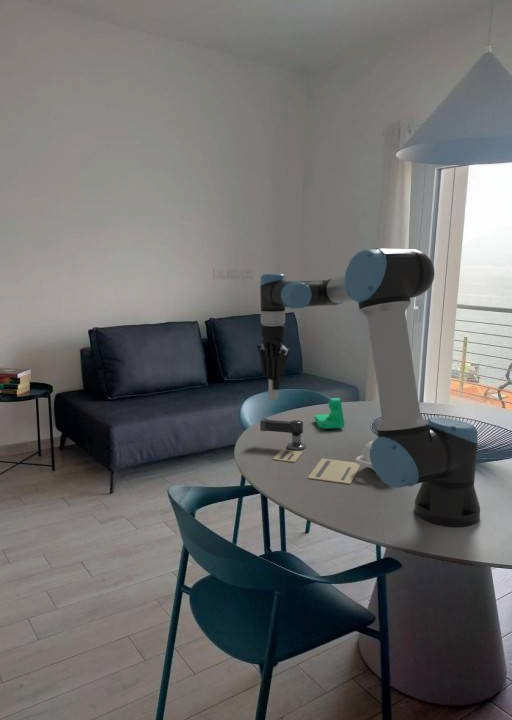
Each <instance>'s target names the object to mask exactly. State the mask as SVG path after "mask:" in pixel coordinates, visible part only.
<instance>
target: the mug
mask: <svg viewBox="0 0 512 720" xmlns="http://www.w3.org/2000/svg"><path fill="white" fill-rule="evenodd" d="M373 441H374V440H370V441H369V442H367V443H366V444H365V445H364V446H363V448H362V450H361V454H360V455H359V456H357V457H355V460H354V461H355V463H357V464H358V465H360V467H364V468H370V469H371V470H372V471H374V469H373V466H372V464H371V460H370V448H371V447H372V446H371V445H372V443H373Z"/></svg>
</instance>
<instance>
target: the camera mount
mask: <svg viewBox="0 0 512 720" xmlns="http://www.w3.org/2000/svg"><path fill="white" fill-rule="evenodd" d="M328 408H329V410H330V413H328V414H327V413H325V414H315V415H314V421H315V422H316V426H318V427H319V428H320V429H340V428H342V429H344V428H345V418H344V414H343V413H344V412H343V407H342V402H341V398H340V397H330V398H329V400H328Z"/></svg>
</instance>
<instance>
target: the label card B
mask: <svg viewBox="0 0 512 720" xmlns="http://www.w3.org/2000/svg"><path fill="white" fill-rule="evenodd" d="M360 468H361V466H360V465H358V464H357V463H356V462H353V461H347V460H345V461H344V460H339V459H330V458H323V457H322V458H321V459H320V460H319V461H318V463H317V464H316V466H314V468H313V470H311V471H310V472H311V473H310V474H309V476H307V479H308V480H309V479H310V480H315V481H322V482H323V481H324V482H331V483H338V484H346V485H351V484H352V482H353V480H354V479H355V476H356V475H357V473H358V471H359V469H360Z"/></svg>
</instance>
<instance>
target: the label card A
mask: <svg viewBox="0 0 512 720" xmlns="http://www.w3.org/2000/svg"><path fill="white" fill-rule="evenodd" d="M303 453H304V452H303V451H301V450H291V449H289V450H288V449H280V451H278V452H277V454H276V455H274V457H272V460H273V461H280V462H281V461H282V462H289V463H294V464H295V463H296V462H297V460H298V459H299V458H300V457H301V456H302V455H303ZM301 454H302V455H301Z"/></svg>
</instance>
